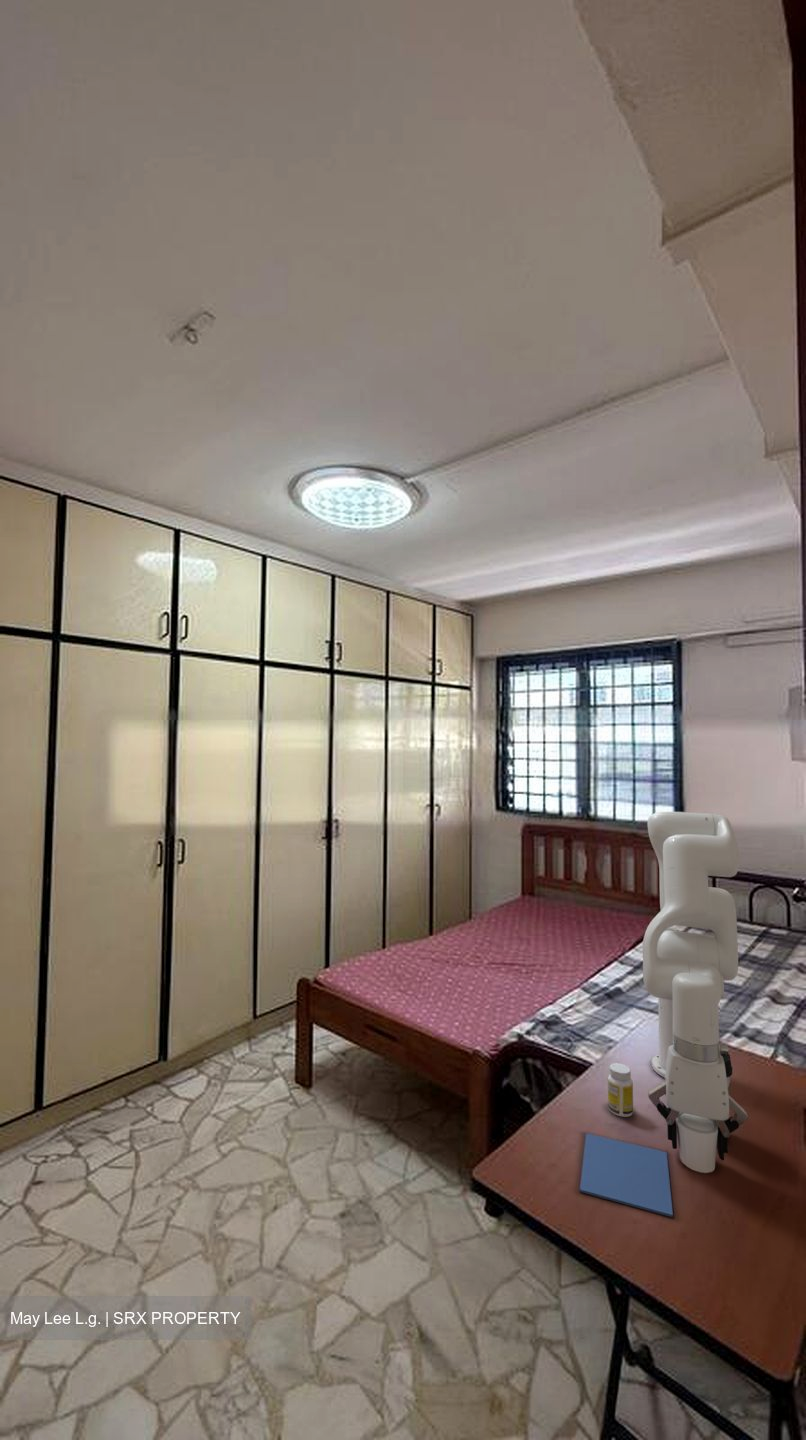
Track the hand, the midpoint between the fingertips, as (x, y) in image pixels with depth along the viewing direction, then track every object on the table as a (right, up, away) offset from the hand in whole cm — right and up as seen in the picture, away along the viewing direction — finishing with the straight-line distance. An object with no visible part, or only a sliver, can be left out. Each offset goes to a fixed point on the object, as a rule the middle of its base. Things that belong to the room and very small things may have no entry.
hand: (697, 1149), depth 104 cm
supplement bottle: (-8, -3, +15) cm, 17 cm away
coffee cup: (+6, -3, +8) cm, 11 cm away
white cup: (0, -2, 0) cm, 2 cm away
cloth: (-14, -2, -3) cm, 15 cm away
